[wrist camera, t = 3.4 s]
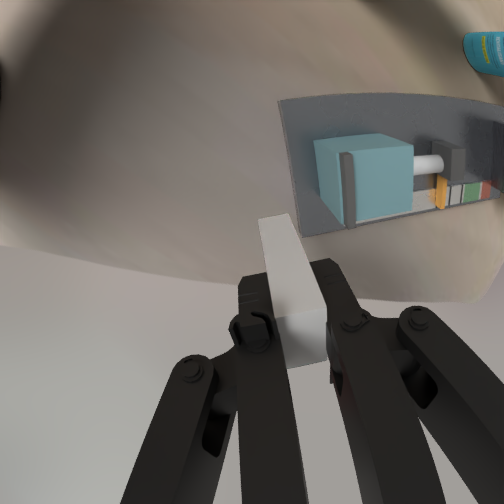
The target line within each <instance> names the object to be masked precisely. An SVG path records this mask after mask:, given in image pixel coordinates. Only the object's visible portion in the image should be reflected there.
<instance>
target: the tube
mask: <svg viewBox="0 0 504 504" xmlns="http://www.w3.org/2000/svg"><path fill="white" fill-rule="evenodd" d="M463 47H464V51H465V55H466V57H467V59H468V61H469V63H470V64H471V66H472V67H473V68H474V69H475V70H477V71H478V72H482V73H487V74H492V75H496V76H501V77H504V32H476V33H467V34H466V35H465V37H464V41H463Z"/></svg>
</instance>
